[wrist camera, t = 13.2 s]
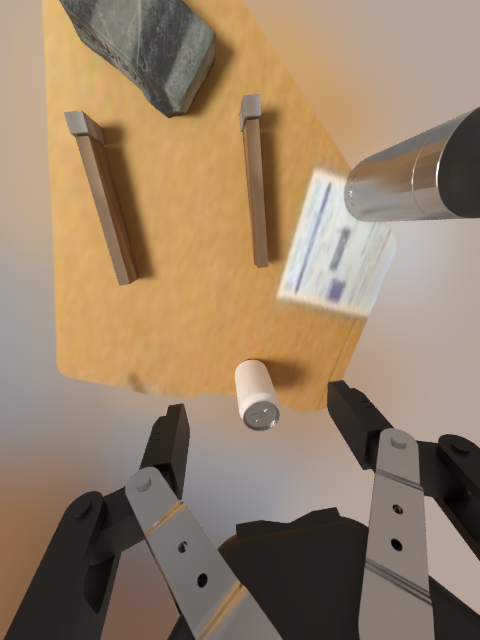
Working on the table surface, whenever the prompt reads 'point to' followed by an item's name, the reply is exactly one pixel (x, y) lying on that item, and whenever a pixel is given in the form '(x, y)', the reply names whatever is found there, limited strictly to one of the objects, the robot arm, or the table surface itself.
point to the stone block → (149, 46)
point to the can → (256, 396)
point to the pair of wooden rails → (107, 199)
